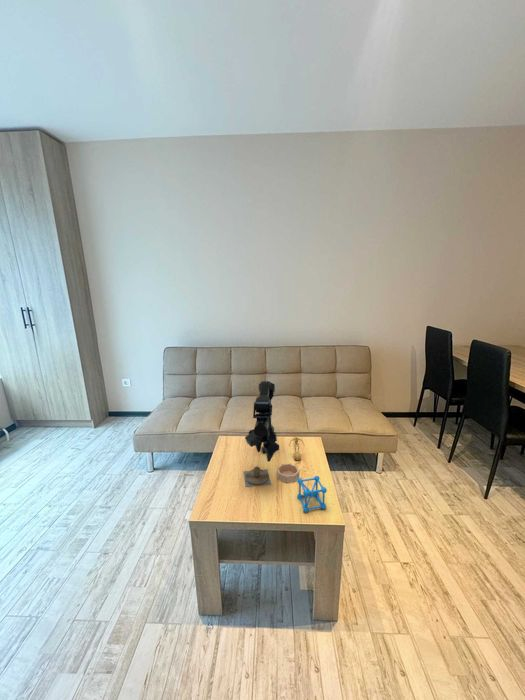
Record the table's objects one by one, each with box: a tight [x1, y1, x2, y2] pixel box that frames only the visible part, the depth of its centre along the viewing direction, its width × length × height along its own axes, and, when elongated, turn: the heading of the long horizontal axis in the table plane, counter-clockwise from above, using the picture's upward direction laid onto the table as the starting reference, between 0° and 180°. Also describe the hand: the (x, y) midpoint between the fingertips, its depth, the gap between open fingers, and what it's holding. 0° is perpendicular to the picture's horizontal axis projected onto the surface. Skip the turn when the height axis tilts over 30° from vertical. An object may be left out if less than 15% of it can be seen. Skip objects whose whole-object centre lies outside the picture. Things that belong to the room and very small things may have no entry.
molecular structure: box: [296, 475, 328, 513], centre depth 126 cm, size 10×10×10 cm
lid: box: [246, 466, 269, 485], centre depth 144 cm, size 11×11×5 cm
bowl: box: [276, 463, 300, 484], centre depth 145 cm, size 10×10×4 cm
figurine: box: [288, 436, 305, 461], centre depth 159 cm, size 8×6×12 cm
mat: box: [243, 468, 272, 488], centre depth 144 cm, size 12×12×1 cm
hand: (263, 456), depth 141 cm, fingers open, 9 cm apart
